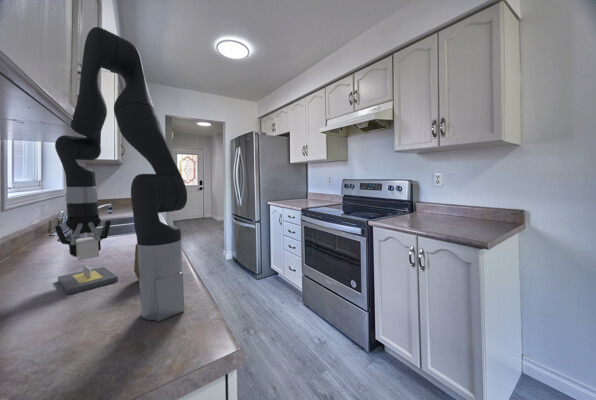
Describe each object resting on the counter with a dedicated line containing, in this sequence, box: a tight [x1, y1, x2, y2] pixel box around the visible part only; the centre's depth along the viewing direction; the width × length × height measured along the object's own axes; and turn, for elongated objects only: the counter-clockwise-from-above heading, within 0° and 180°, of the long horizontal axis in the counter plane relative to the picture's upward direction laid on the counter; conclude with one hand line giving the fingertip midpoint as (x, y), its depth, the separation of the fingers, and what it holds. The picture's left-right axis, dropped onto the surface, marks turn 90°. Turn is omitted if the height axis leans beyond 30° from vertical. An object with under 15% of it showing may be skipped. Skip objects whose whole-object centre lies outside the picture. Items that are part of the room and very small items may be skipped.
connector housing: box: [75, 236, 100, 261], centre depth 80 cm, size 9×5×5 cm, turn 51°
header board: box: [57, 265, 119, 296], centre depth 80 cm, size 16×12×4 cm
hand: (85, 254), depth 80 cm, fingers closed on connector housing, 4 cm apart
